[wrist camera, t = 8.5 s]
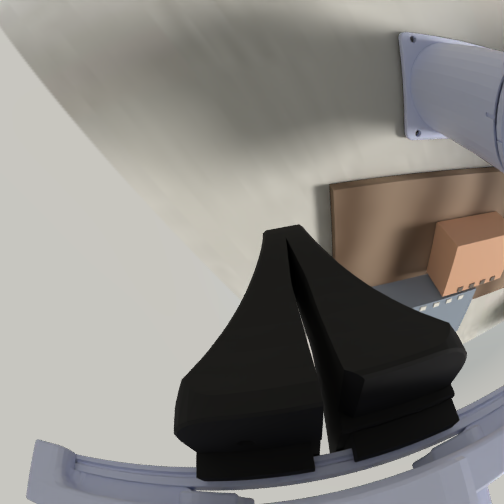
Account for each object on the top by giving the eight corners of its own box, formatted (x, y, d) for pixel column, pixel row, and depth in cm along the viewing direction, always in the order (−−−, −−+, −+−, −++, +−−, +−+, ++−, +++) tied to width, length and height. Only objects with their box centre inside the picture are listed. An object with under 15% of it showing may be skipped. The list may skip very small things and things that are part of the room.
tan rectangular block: (496, 211, 21) (517, 232, 18) (483, 256, 24) (500, 278, 21) (436, 221, 22) (458, 247, 19) (426, 271, 25) (442, 297, 22)
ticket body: (459, 265, 25) (476, 289, 22) (444, 308, 29) (457, 331, 26) (335, 294, 26) (345, 325, 23) (334, 337, 30) (341, 365, 27)
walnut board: (548, 165, 18) (553, 169, 18) (512, 277, 29) (516, 282, 28) (329, 184, 21) (333, 190, 20) (332, 330, 31) (334, 337, 30)
